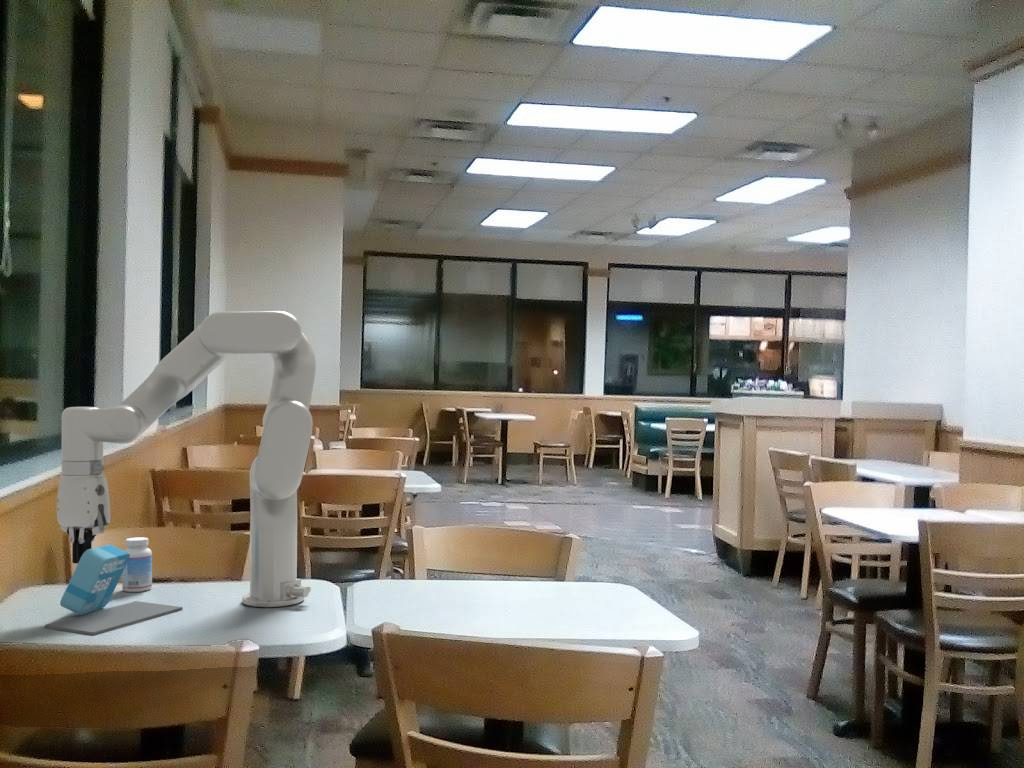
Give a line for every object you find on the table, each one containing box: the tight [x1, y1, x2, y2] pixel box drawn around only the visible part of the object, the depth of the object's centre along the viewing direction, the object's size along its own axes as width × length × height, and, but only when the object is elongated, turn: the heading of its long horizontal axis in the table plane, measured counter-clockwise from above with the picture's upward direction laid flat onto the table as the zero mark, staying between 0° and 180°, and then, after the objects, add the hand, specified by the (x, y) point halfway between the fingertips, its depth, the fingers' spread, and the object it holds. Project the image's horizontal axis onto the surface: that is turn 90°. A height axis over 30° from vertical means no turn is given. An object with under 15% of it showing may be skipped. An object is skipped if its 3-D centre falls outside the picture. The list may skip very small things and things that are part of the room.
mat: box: [44, 600, 183, 636], centre depth 187 cm, size 12×22×1 cm, turn 155°
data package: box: [59, 544, 130, 616], centre depth 191 cm, size 12×4×12 cm, turn 177°
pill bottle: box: [121, 536, 153, 593], centre depth 213 cm, size 6×6×11 cm
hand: (81, 562), depth 191 cm, fingers closed
